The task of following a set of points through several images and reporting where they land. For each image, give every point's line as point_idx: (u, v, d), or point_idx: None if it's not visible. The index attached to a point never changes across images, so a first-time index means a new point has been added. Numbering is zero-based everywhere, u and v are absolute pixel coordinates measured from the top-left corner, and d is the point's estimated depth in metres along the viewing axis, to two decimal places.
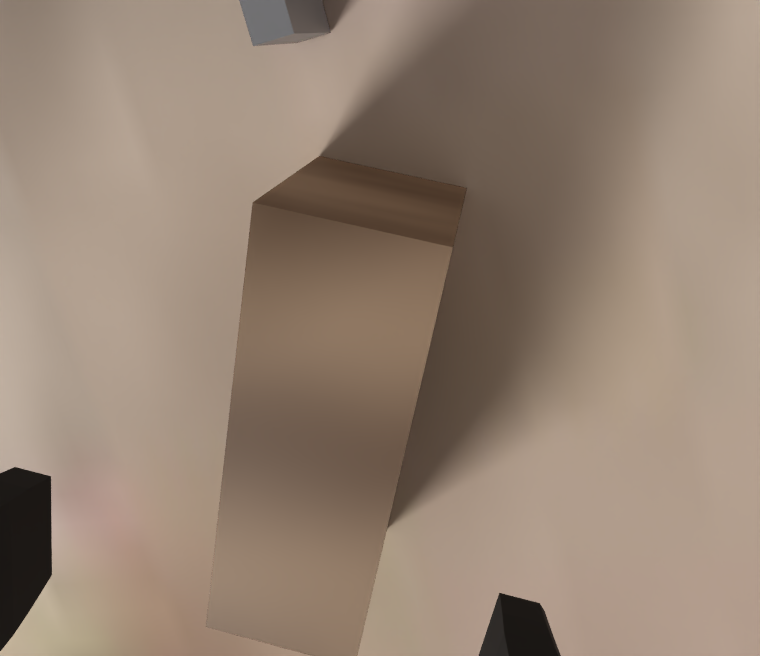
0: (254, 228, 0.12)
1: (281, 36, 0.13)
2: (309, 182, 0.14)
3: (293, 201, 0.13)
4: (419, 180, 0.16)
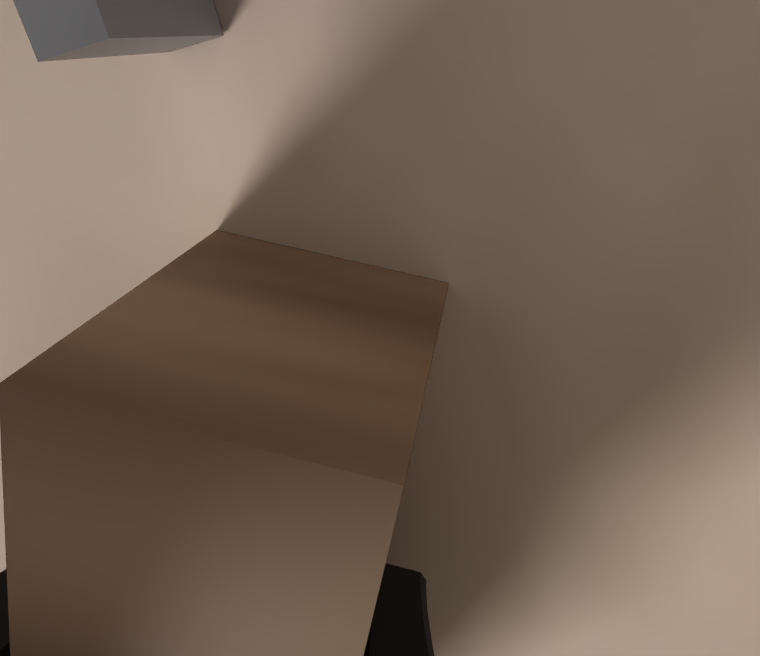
0: (8, 431, 0.06)
1: (88, 43, 0.07)
2: (163, 303, 0.08)
3: (98, 367, 0.07)
4: (370, 276, 0.10)
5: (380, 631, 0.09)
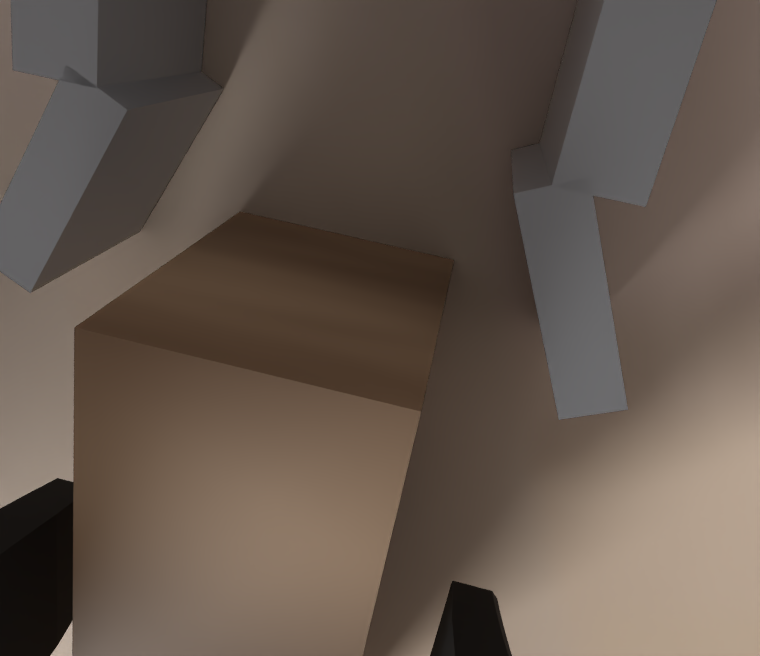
0: (81, 369, 0.07)
1: (605, 410, 0.08)
2: (203, 268, 0.09)
3: (155, 316, 0.08)
4: (384, 249, 0.11)
5: (464, 653, 0.09)
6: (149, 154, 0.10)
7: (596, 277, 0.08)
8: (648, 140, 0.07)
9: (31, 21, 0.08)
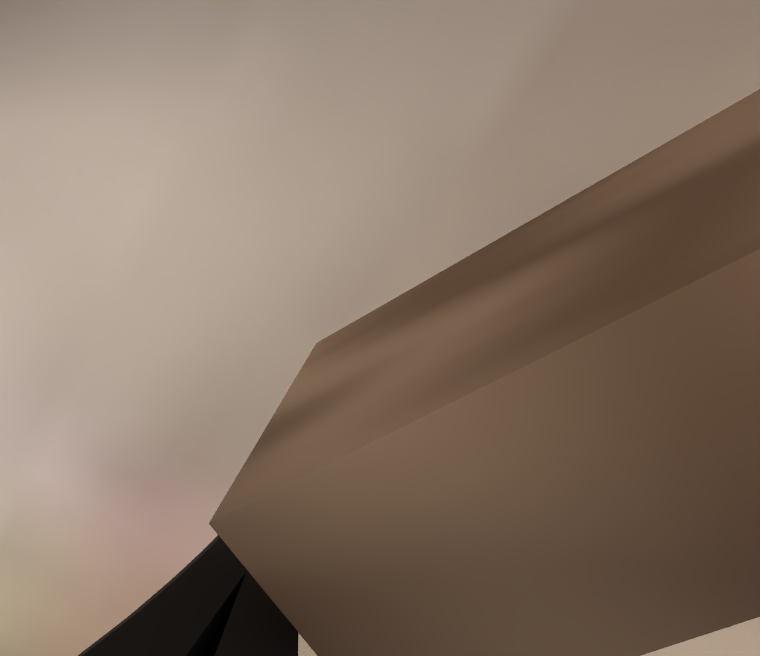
0: None
1: None
2: None
3: None
4: None
5: (247, 595, 0.09)
6: None
7: None
8: None
9: None
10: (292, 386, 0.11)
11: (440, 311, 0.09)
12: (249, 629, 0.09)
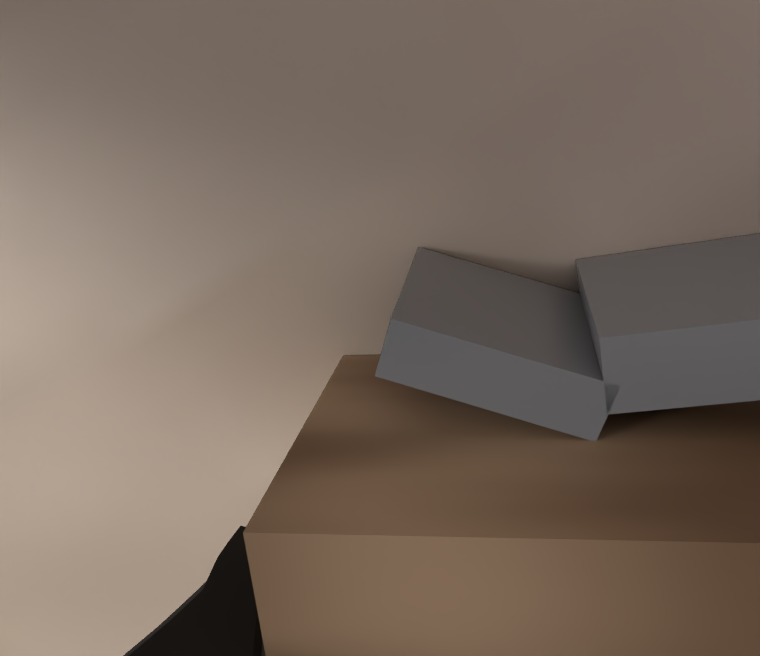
0: None
1: None
2: None
3: None
4: None
5: (214, 587, 0.09)
6: None
7: None
8: None
9: (651, 351, 0.08)
10: (320, 401, 0.11)
11: None
12: (214, 620, 0.09)
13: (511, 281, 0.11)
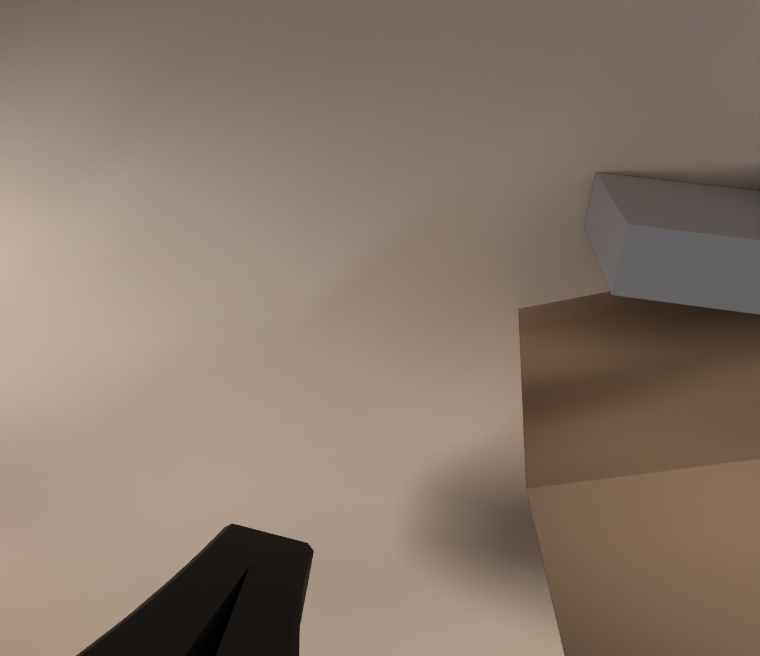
0: None
1: None
2: None
3: None
4: None
5: (248, 596, 0.09)
6: None
7: None
8: None
9: None
10: (523, 351, 0.10)
11: (736, 324, 0.09)
12: (250, 629, 0.09)
13: (710, 190, 0.10)
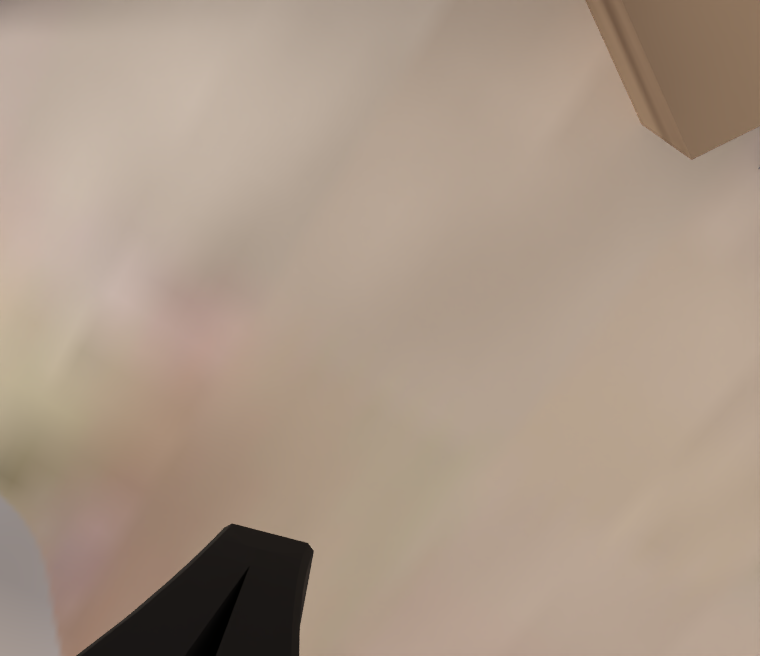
0: None
1: None
2: None
3: None
4: None
5: (248, 596, 0.09)
6: None
7: None
8: None
9: None
10: None
11: None
12: (250, 629, 0.09)
13: None
